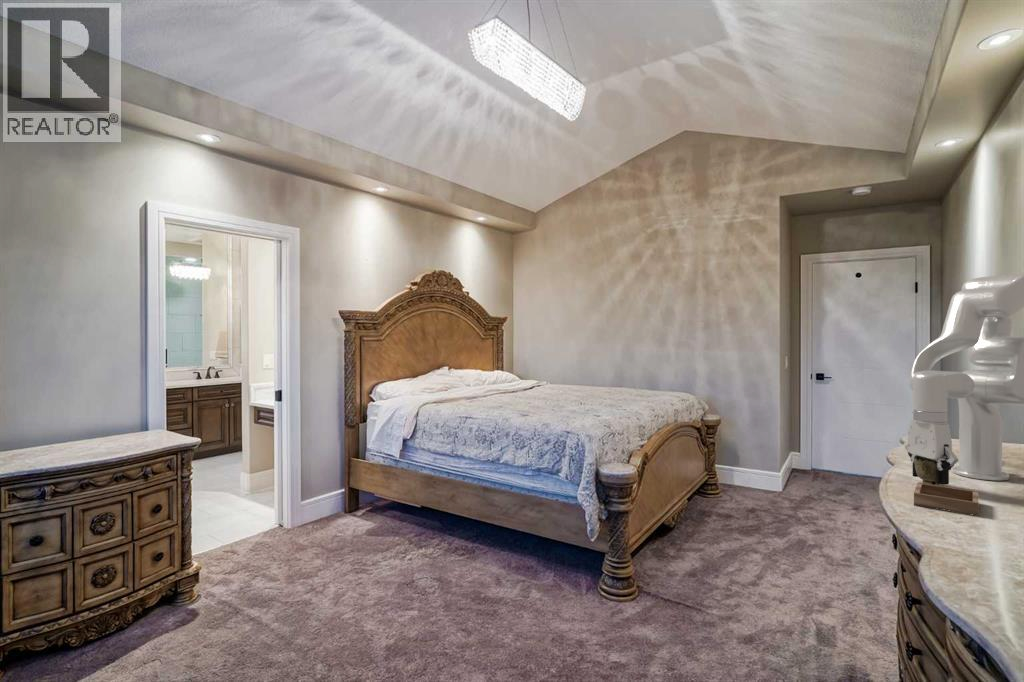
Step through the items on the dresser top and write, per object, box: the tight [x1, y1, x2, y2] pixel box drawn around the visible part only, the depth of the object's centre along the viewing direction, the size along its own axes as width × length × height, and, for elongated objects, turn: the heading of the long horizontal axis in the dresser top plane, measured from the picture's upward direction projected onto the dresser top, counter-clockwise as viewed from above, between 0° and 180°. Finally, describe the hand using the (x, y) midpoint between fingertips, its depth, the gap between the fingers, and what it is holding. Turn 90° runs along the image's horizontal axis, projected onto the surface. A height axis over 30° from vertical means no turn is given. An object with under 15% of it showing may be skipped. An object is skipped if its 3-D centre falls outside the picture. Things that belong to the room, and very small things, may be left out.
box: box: [913, 482, 979, 516], centre depth 129 cm, size 12×12×3 cm
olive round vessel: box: [914, 455, 945, 486], centre depth 144 cm, size 8×7×8 cm
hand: (930, 479), depth 144 cm, fingers closed on olive round vessel, 7 cm apart
